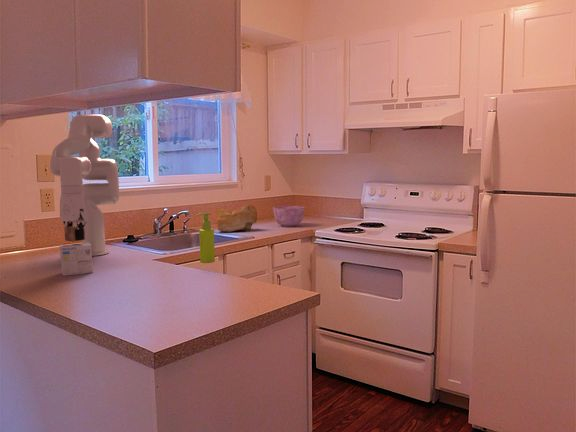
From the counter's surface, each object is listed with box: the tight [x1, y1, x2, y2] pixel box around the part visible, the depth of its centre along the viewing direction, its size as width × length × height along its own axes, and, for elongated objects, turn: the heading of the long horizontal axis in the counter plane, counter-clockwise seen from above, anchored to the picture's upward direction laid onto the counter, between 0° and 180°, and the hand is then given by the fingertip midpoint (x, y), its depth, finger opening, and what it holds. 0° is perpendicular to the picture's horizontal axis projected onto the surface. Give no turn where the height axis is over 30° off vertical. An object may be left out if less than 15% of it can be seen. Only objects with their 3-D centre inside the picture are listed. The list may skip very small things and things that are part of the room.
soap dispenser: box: [195, 212, 216, 264], centre depth 210 cm, size 6×7×20 cm
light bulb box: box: [59, 242, 94, 277], centre depth 193 cm, size 11×7×11 cm, turn 119°
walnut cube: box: [64, 225, 85, 243], centre depth 192 cm, size 5×5×5 cm
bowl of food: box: [272, 205, 306, 228], centre depth 318 cm, size 20×20×12 cm
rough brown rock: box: [216, 204, 258, 233], centre depth 302 cm, size 23×17×15 cm
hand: (75, 238), depth 192 cm, fingers closed on walnut cube, 5 cm apart
